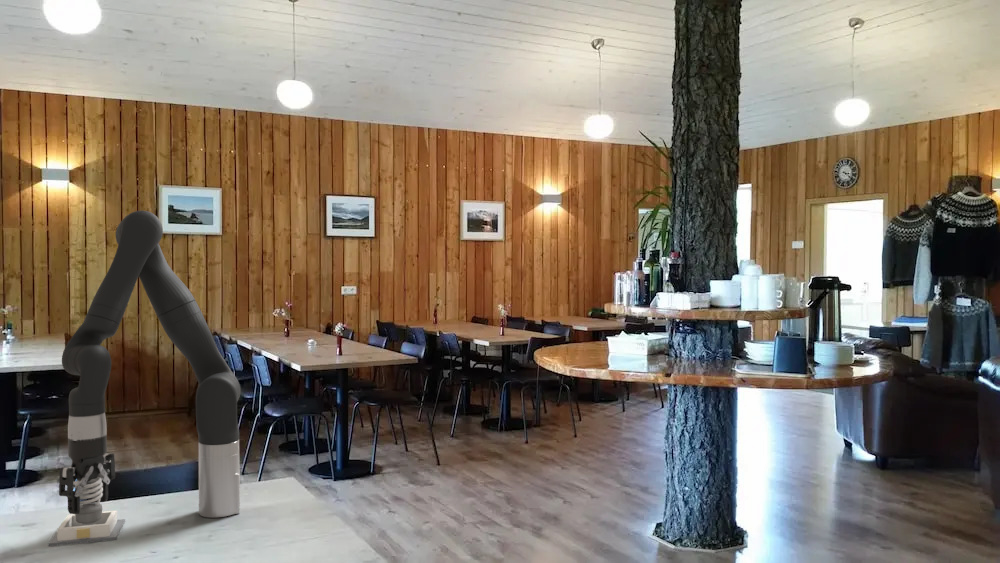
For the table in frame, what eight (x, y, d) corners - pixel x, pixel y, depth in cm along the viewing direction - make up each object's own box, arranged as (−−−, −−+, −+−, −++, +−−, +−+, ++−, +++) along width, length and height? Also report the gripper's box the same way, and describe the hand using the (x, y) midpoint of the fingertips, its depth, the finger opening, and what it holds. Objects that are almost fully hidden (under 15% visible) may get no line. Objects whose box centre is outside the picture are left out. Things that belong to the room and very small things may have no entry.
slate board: (125, 521, 178) (125, 519, 178) (116, 539, 166) (116, 537, 166) (61, 527, 174) (61, 524, 174) (48, 546, 163) (48, 543, 163)
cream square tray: (117, 521, 176) (117, 510, 176) (108, 536, 166) (108, 525, 166) (68, 525, 173) (68, 514, 173) (56, 541, 163) (56, 530, 163)
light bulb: (99, 524, 174) (99, 471, 174) (106, 531, 170) (105, 477, 170) (71, 529, 171) (71, 476, 170) (77, 536, 166) (77, 481, 166)
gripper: (95, 426, 177) (96, 496, 178) (47, 440, 163) (49, 516, 164) (124, 428, 176) (125, 498, 176) (78, 442, 162) (79, 519, 162)
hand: (88, 507), depth 170 cm, fingers open, 8 cm apart
